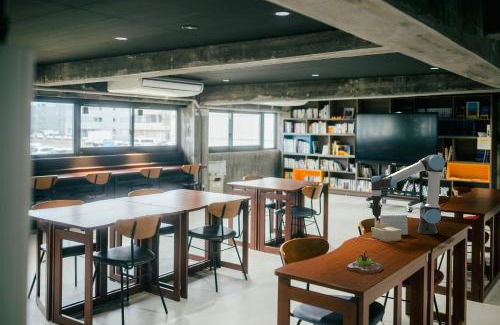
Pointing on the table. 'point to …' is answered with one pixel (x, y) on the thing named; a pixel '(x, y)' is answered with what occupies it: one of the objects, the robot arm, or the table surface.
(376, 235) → the mailer base
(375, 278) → the table surface
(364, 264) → the plant
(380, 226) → the lid
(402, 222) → the skincare box
